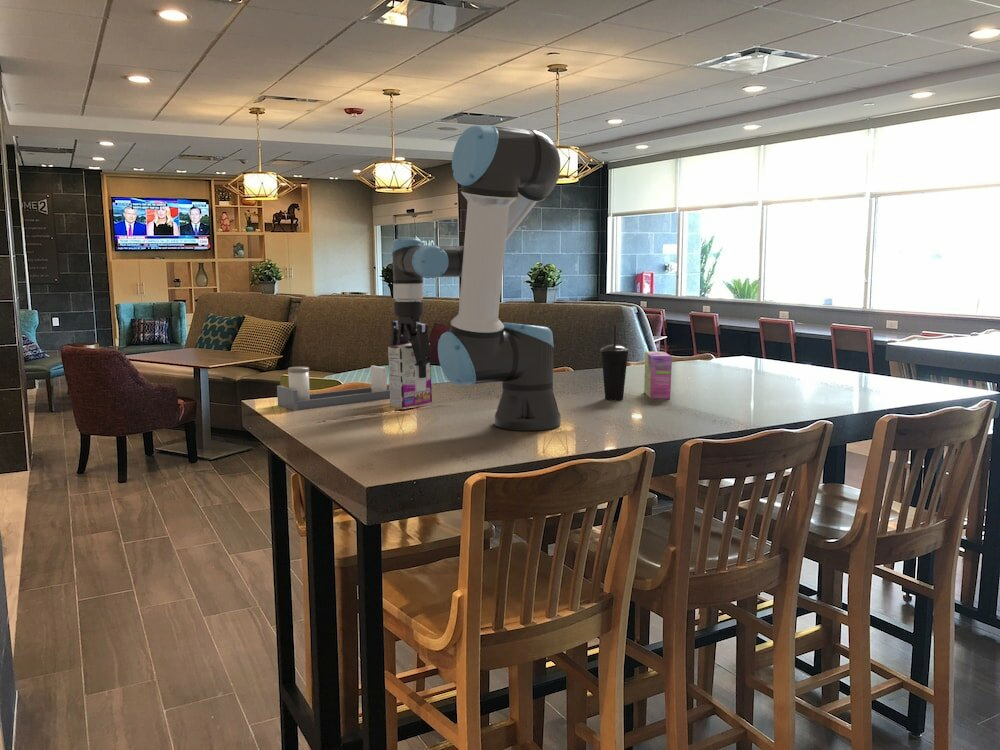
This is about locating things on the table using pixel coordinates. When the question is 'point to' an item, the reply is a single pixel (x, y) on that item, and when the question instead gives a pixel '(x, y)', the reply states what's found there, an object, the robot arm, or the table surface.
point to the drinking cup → (614, 369)
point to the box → (657, 375)
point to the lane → (328, 398)
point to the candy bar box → (406, 378)
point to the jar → (299, 382)
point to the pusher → (378, 379)
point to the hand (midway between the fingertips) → (410, 388)
